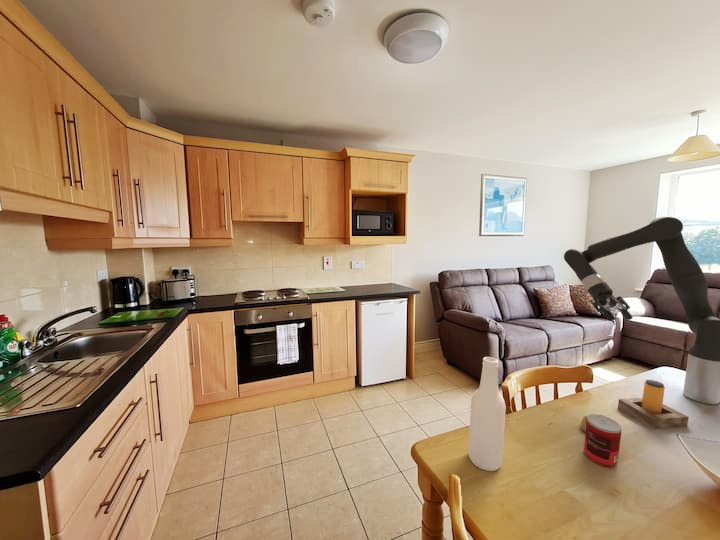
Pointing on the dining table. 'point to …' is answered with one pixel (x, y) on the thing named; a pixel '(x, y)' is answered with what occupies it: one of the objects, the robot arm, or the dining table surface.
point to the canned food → (602, 440)
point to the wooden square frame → (655, 421)
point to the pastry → (583, 423)
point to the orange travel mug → (653, 396)
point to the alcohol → (487, 420)
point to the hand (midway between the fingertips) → (621, 319)
